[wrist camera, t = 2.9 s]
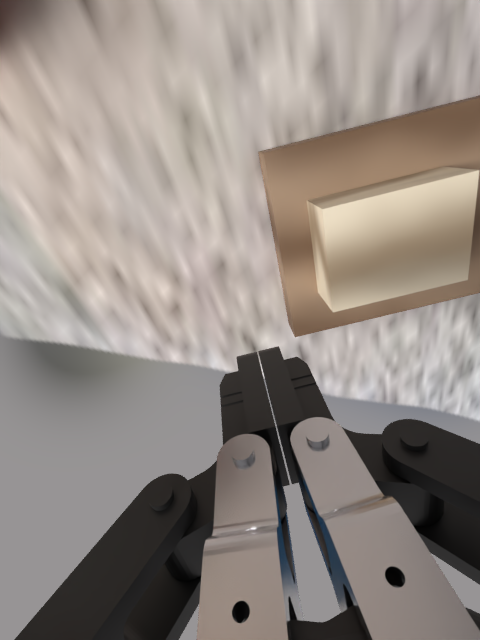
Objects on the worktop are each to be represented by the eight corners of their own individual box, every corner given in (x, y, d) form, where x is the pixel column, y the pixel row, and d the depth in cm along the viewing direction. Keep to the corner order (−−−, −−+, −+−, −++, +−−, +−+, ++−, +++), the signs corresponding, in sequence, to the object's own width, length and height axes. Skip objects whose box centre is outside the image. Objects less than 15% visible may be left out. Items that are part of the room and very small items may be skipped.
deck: (258, 151, 20) (263, 152, 18) (525, 83, 20) (557, 78, 18) (288, 323, 26) (295, 337, 24) (497, 273, 25) (519, 283, 24)
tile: (306, 200, 20) (322, 209, 17) (442, 166, 19) (479, 170, 17) (318, 292, 22) (333, 312, 20) (436, 263, 22) (467, 279, 20)
